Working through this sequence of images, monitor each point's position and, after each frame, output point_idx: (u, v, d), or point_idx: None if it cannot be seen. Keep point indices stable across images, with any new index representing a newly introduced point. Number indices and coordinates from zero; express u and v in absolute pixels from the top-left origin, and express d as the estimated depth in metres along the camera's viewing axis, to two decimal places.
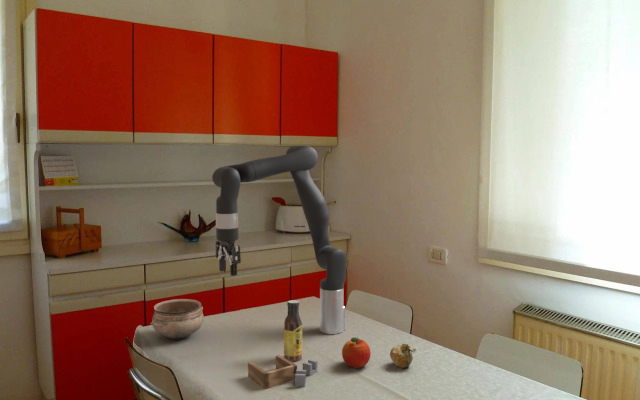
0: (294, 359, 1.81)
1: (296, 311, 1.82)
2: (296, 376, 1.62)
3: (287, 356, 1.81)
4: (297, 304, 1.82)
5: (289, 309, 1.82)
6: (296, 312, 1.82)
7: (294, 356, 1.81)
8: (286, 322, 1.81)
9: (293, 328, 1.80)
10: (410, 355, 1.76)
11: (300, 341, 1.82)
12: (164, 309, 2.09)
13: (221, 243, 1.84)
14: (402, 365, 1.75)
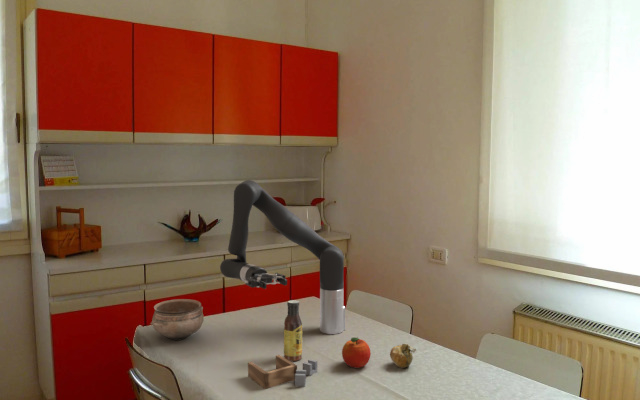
0: (294, 359, 1.81)
1: (296, 311, 1.82)
2: (296, 376, 1.62)
3: (287, 356, 1.81)
4: (297, 304, 1.82)
5: (289, 309, 1.82)
6: (296, 312, 1.82)
7: (294, 356, 1.81)
8: (286, 322, 1.81)
9: (293, 328, 1.80)
10: (410, 355, 1.76)
11: (300, 341, 1.82)
12: (164, 309, 2.09)
13: None
14: (402, 365, 1.75)
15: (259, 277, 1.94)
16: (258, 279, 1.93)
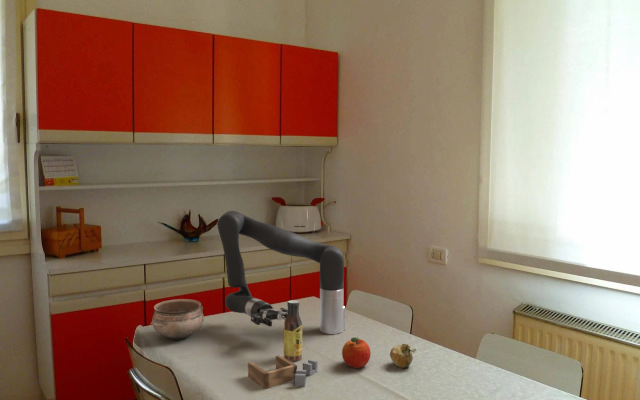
0: (294, 359, 1.81)
1: (296, 311, 1.82)
2: (296, 376, 1.62)
3: (287, 356, 1.81)
4: (297, 304, 1.82)
5: (289, 309, 1.82)
6: (296, 312, 1.82)
7: (294, 356, 1.81)
8: (286, 322, 1.81)
9: (293, 328, 1.80)
10: (410, 355, 1.76)
11: (300, 341, 1.82)
12: (164, 309, 2.09)
13: None
14: (402, 365, 1.75)
15: (264, 314, 1.92)
16: (263, 316, 1.91)
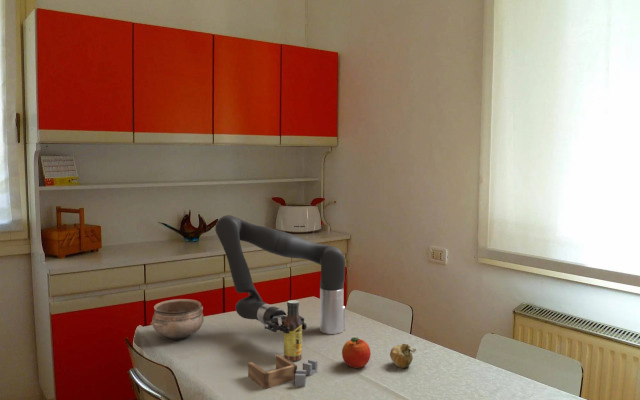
0: (294, 359, 1.81)
1: (296, 311, 1.81)
2: (296, 376, 1.62)
3: (287, 356, 1.81)
4: (297, 304, 1.81)
5: (289, 309, 1.81)
6: (296, 312, 1.81)
7: (294, 356, 1.81)
8: (286, 322, 1.81)
9: (292, 328, 1.80)
10: (410, 355, 1.76)
11: (300, 341, 1.82)
12: (164, 309, 2.09)
13: None
14: (402, 365, 1.75)
15: (280, 320, 1.84)
16: (279, 323, 1.83)
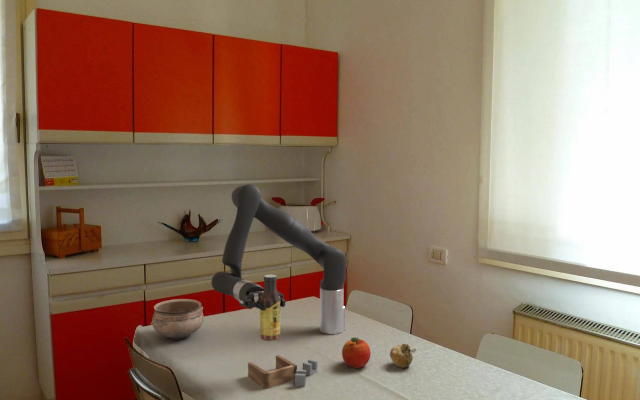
0: (271, 339, 1.65)
1: (273, 286, 1.65)
2: (296, 376, 1.62)
3: (263, 335, 1.65)
4: (274, 278, 1.65)
5: (266, 284, 1.65)
6: (273, 287, 1.65)
7: (271, 336, 1.64)
8: (262, 298, 1.65)
9: (269, 305, 1.64)
10: (410, 355, 1.76)
11: (278, 319, 1.65)
12: (164, 309, 2.09)
13: None
14: (402, 365, 1.75)
15: (256, 296, 1.68)
16: (256, 299, 1.67)
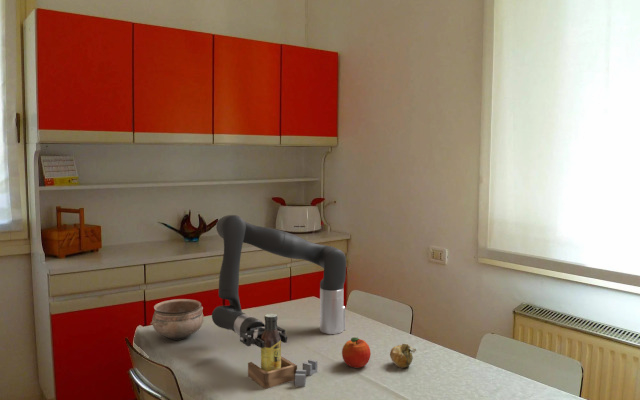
0: None
1: (274, 326, 1.66)
2: (296, 376, 1.62)
3: None
4: (275, 318, 1.66)
5: (266, 324, 1.66)
6: (274, 327, 1.66)
7: None
8: (263, 338, 1.66)
9: (270, 345, 1.65)
10: (410, 355, 1.76)
11: (278, 358, 1.67)
12: (164, 309, 2.09)
13: None
14: (402, 365, 1.75)
15: (256, 333, 1.69)
16: (255, 336, 1.68)
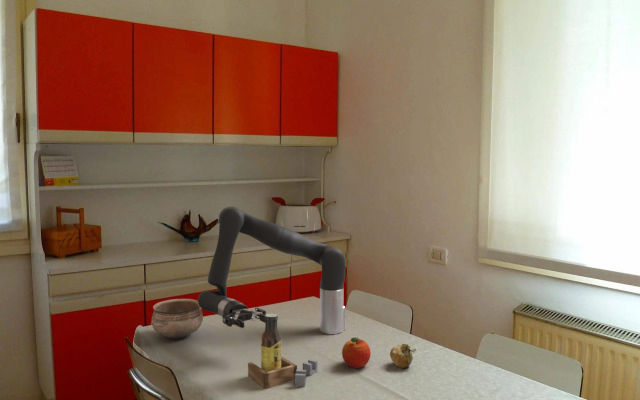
0: None
1: (274, 326, 1.66)
2: (296, 376, 1.62)
3: None
4: (275, 318, 1.66)
5: (267, 323, 1.66)
6: (274, 327, 1.67)
7: None
8: (263, 338, 1.66)
9: (270, 345, 1.65)
10: (410, 355, 1.76)
11: (279, 358, 1.67)
12: (163, 309, 2.09)
13: None
14: (402, 365, 1.75)
15: (237, 314, 1.79)
16: (236, 317, 1.78)
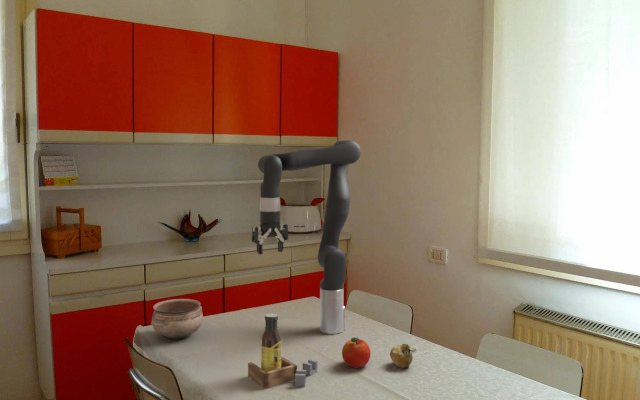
0: None
1: (274, 326, 1.66)
2: (296, 376, 1.62)
3: None
4: (275, 318, 1.66)
5: (267, 324, 1.66)
6: (274, 327, 1.66)
7: None
8: (263, 338, 1.66)
9: (270, 345, 1.65)
10: (410, 355, 1.76)
11: (279, 358, 1.67)
12: (163, 309, 2.09)
13: None
14: (402, 365, 1.75)
15: (264, 238, 1.95)
16: (262, 240, 1.95)
